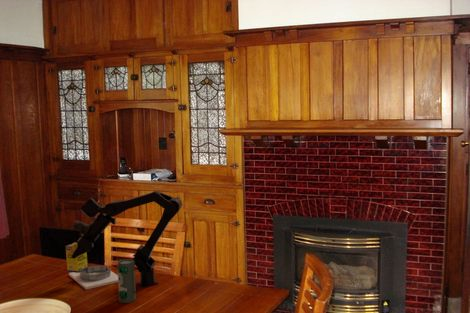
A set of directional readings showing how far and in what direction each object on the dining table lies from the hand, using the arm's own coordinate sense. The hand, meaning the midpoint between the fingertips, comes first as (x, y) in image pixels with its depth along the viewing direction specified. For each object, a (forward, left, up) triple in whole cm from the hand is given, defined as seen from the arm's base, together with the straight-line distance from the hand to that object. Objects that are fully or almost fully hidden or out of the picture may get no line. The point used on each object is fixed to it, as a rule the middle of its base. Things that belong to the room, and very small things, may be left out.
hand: (73, 254), depth 215 cm
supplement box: (-1, -1, -7) cm, 7 cm away
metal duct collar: (+4, -10, -13) cm, 17 cm away
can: (-28, -11, -13) cm, 33 cm away
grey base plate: (+4, -10, -13) cm, 17 cm away
